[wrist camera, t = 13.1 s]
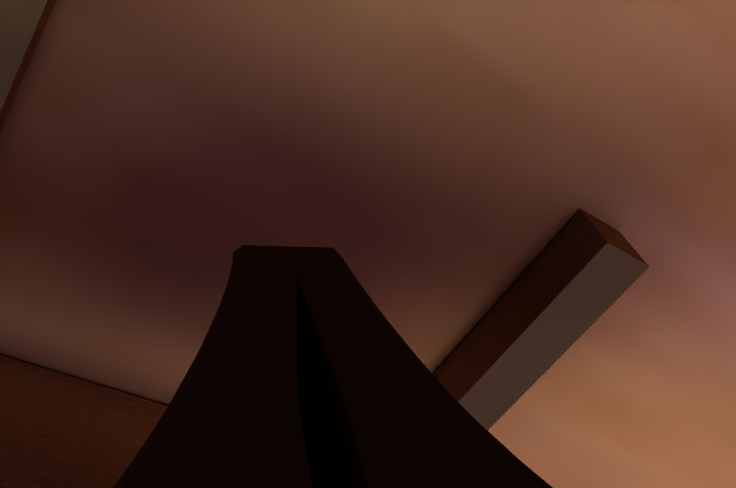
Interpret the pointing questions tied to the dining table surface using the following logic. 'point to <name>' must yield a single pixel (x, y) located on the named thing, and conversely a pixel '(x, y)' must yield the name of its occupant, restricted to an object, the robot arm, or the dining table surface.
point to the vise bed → (508, 316)
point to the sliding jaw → (67, 429)
